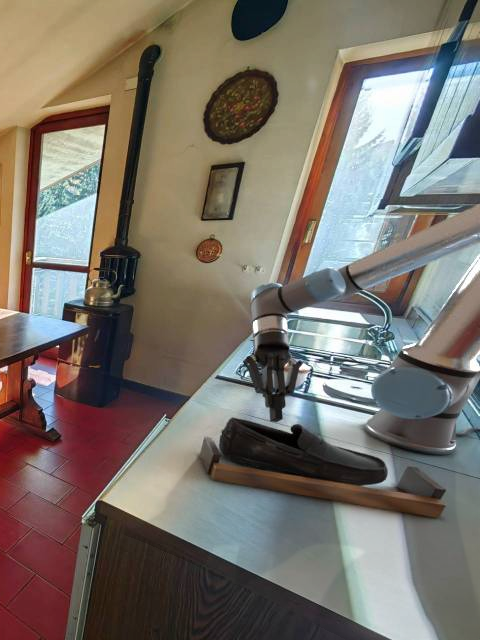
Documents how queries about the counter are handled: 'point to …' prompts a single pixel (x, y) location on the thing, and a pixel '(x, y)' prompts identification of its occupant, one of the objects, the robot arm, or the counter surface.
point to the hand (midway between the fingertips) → (276, 420)
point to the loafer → (298, 453)
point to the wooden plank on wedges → (334, 486)
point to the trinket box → (301, 374)
